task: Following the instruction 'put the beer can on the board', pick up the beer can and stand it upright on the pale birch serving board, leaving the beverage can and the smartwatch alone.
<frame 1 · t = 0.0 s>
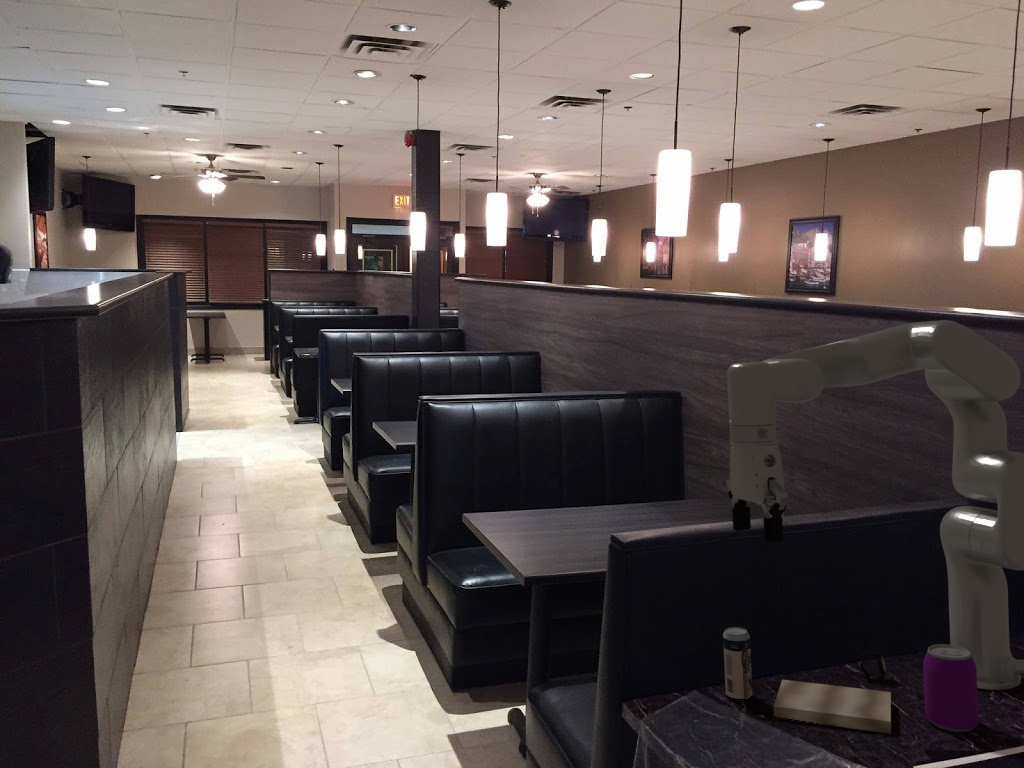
hand: (757, 535, 137), 31 cm above the table, tool pointing down, fingers open, 9 cm apart
beverage can: (951, 724, 131), on the table
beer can: (739, 697, 146), on the table
smartwatch: (873, 679, 151), on the table
birch board: (833, 710, 138), on the table
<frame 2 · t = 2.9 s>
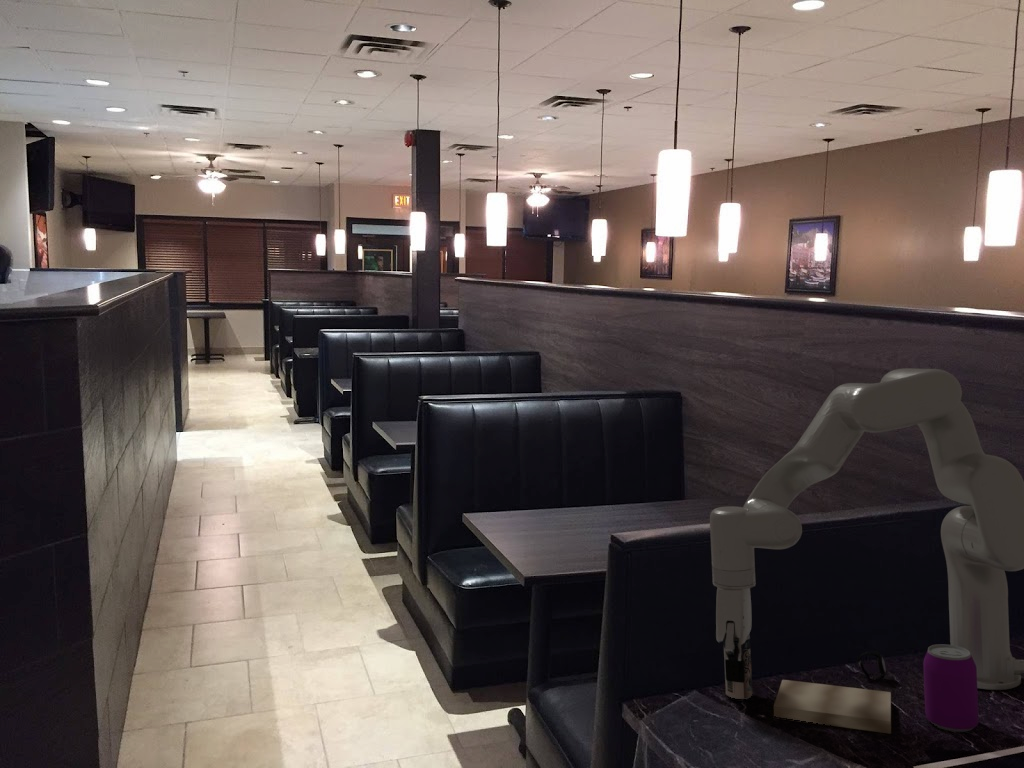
hand: (738, 674, 146), 4 cm above the table, tool pointing down, fingers closed on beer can, 4 cm apart
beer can: (739, 697, 146), on the table, touching gripper
everything else where it was.
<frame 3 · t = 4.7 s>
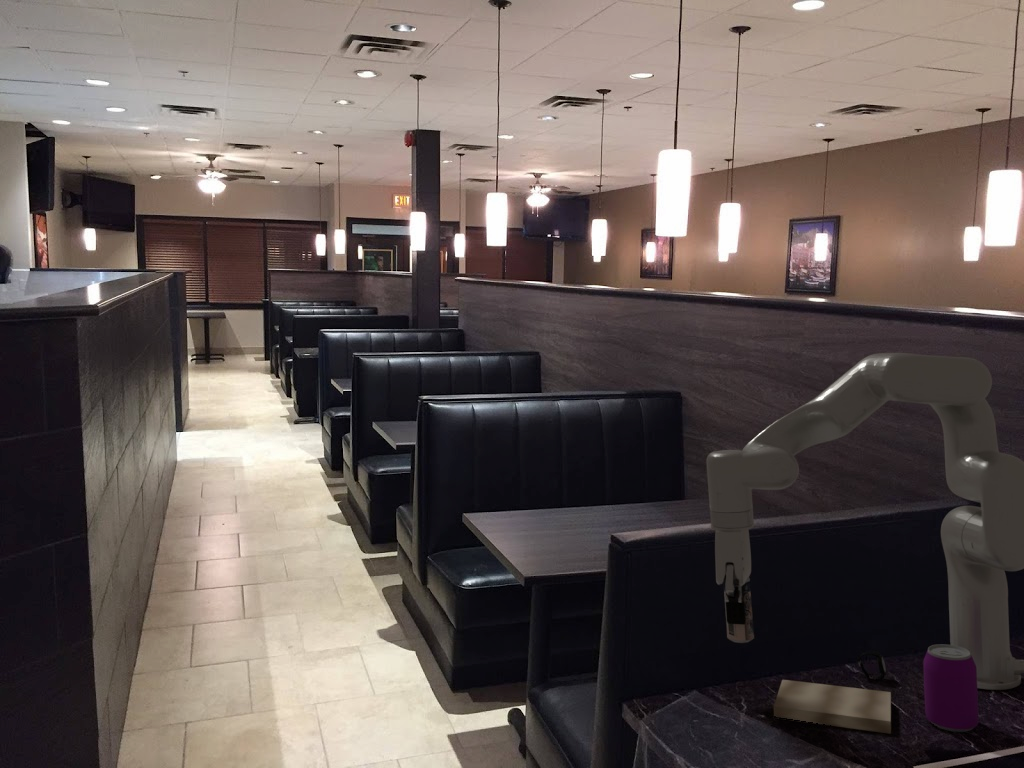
hand: (739, 617, 146), 14 cm above the table, tool pointing down, fingers closed on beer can, 4 cm apart
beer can: (740, 640, 146), point 10 cm above the table, touching gripper
everything else where it was.
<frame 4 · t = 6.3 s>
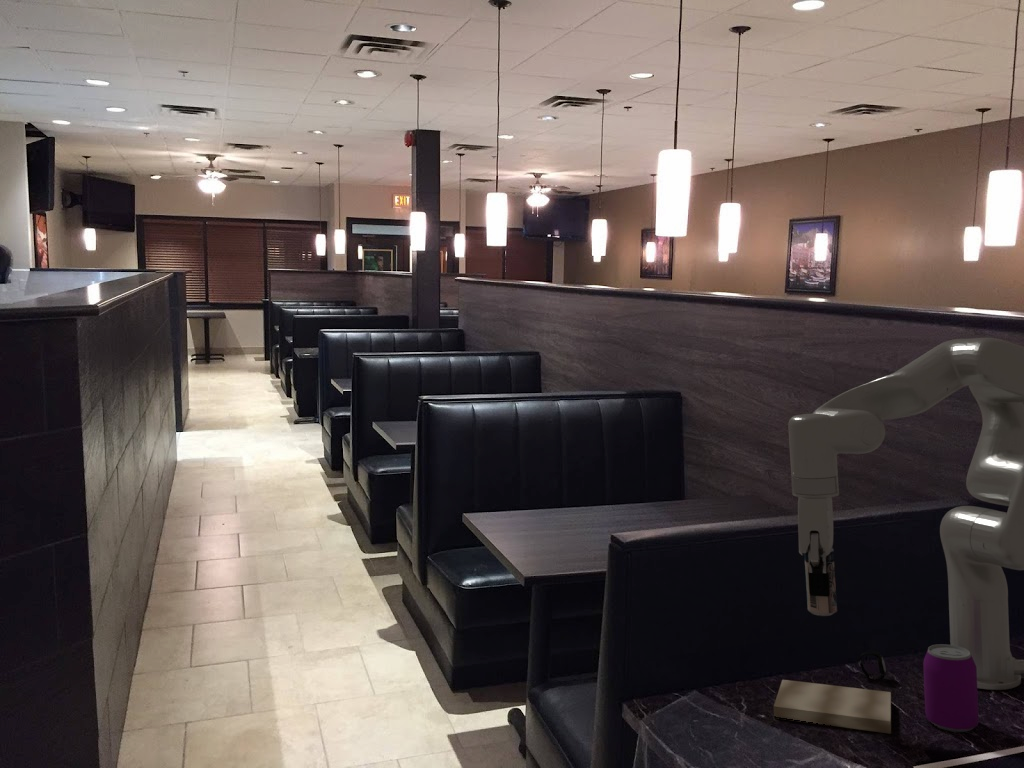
hand: (821, 589, 139), 21 cm above the table, tool pointing down, fingers closed on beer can, 4 cm apart
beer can: (822, 613, 139), point 17 cm above the table, touching gripper
everything else where it was.
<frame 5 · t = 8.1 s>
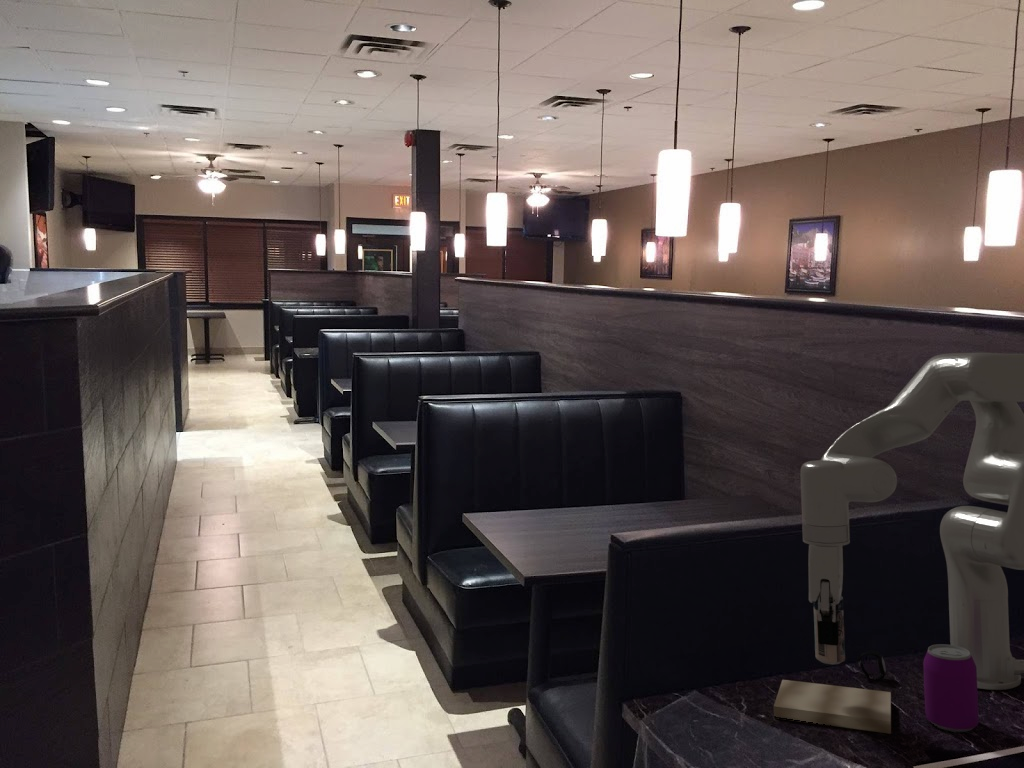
hand: (829, 637, 138), 13 cm above the table, tool pointing down, fingers closed on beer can, 4 cm apart
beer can: (830, 661, 138), point 9 cm above the table, touching gripper
everything else where it was.
when the fingers open (7 cm above the table, at t = 9.5 s): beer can drops 1 cm, resting on birch board.
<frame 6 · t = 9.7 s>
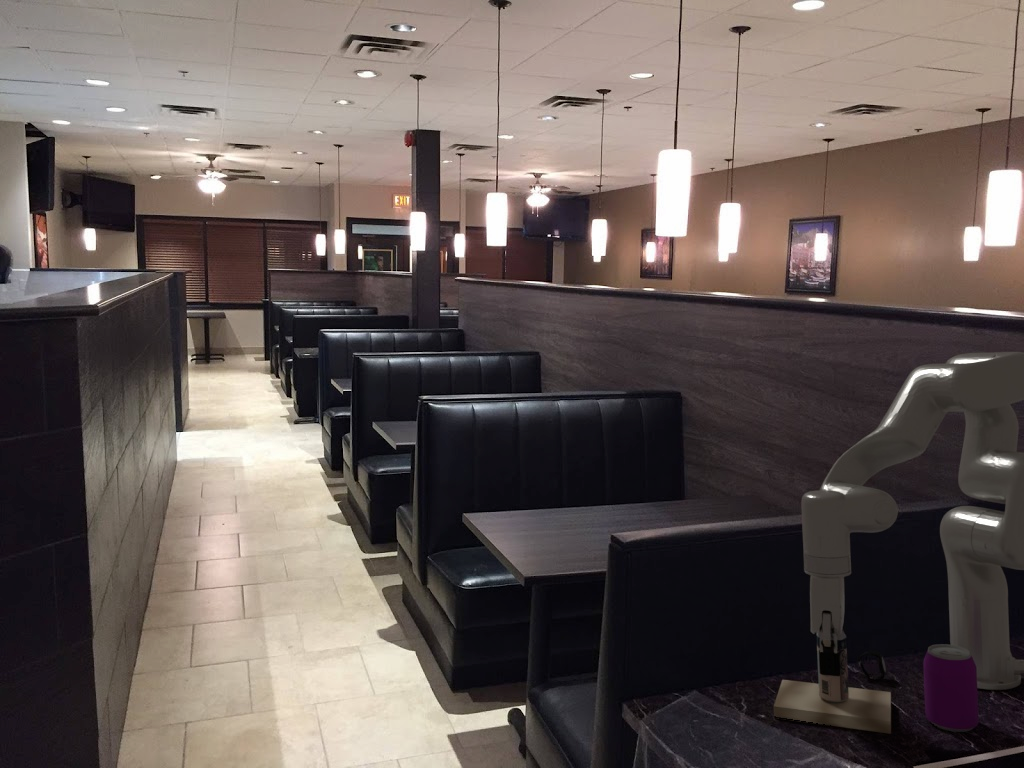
hand: (831, 666, 138), 8 cm above the table, tool pointing down, fingers open, 6 cm apart
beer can: (833, 699, 138), point 2 cm above the table, touching birch board
everything else where it was.
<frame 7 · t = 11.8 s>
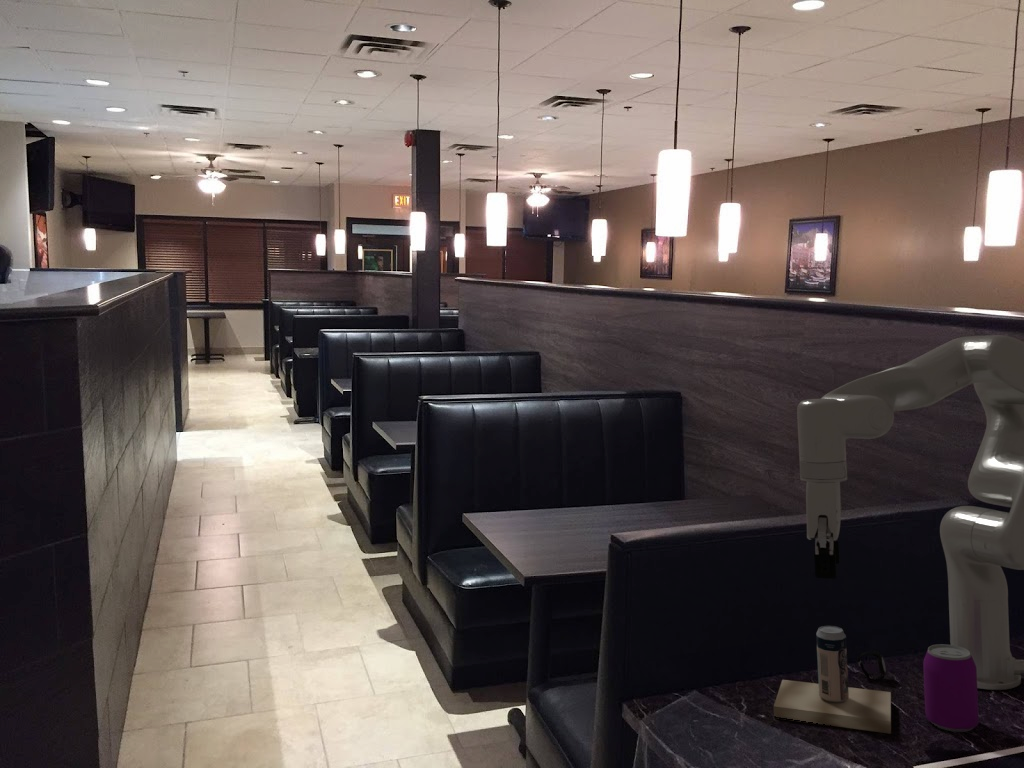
hand: (827, 570, 138), 24 cm above the table, tool pointing down, fingers open, 9 cm apart
nothing on the table moved.
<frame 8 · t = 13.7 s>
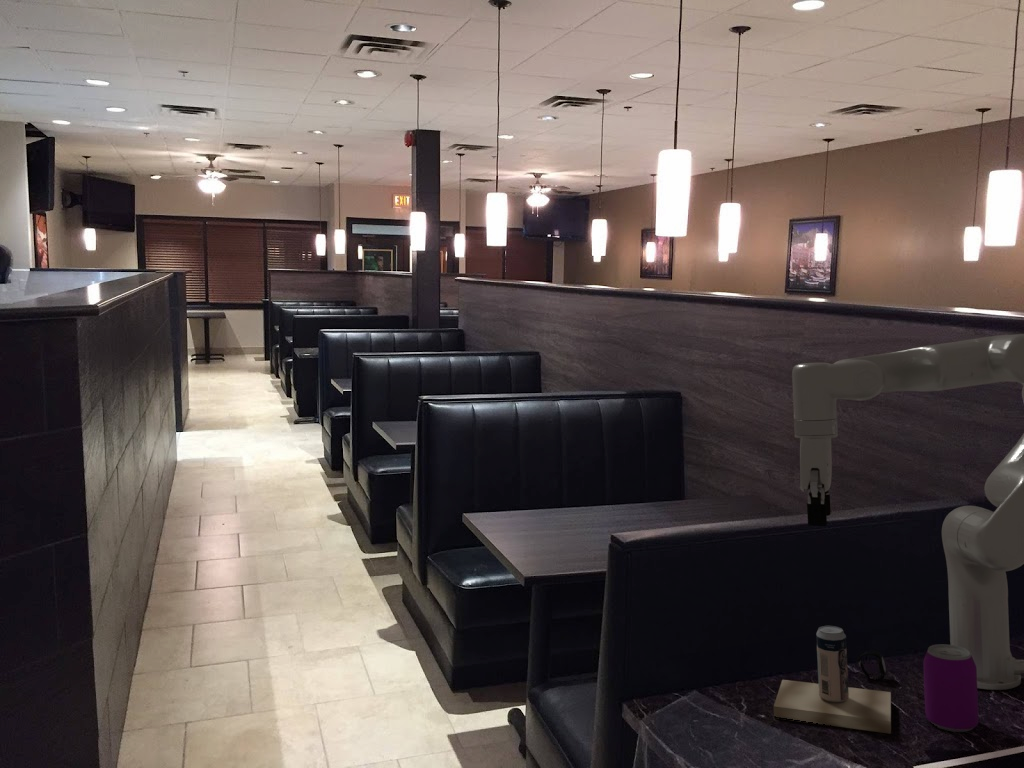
hand: (819, 520, 150), 30 cm above the table, tool pointing down, fingers open, 9 cm apart
nothing on the table moved.
at the end: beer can inside the target area on the birch board (0.3 cm from its centre), point 1.8 cm above the birch board's base; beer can tilted 0°; beverage can moved 0.2 cm from its start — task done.
